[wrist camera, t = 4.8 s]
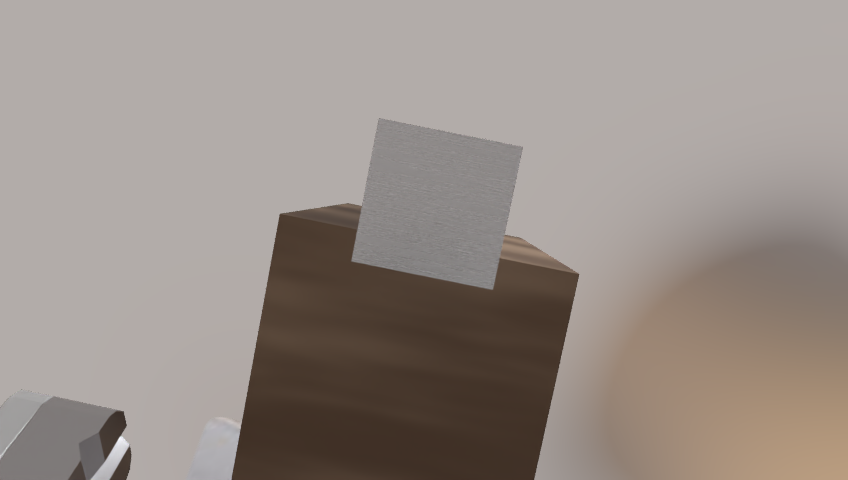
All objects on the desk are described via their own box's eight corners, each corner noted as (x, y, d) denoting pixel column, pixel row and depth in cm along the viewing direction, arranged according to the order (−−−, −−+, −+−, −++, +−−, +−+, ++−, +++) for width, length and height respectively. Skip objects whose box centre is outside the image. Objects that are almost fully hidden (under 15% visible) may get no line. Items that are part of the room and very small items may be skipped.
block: (406, 217, 36) (417, 161, 36) (461, 227, 36) (472, 173, 36) (351, 261, 14) (378, 118, 14) (492, 290, 14) (523, 146, 14)
